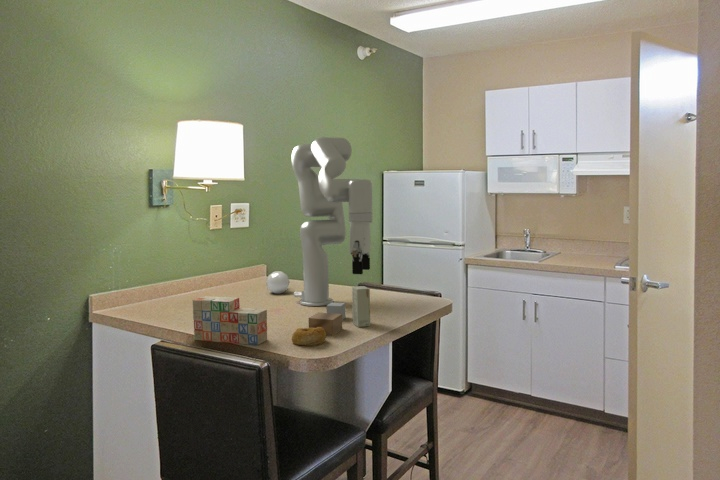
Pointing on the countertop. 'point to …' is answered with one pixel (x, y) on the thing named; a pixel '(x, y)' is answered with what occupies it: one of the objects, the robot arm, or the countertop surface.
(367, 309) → the skincare box
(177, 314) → the countertop surface
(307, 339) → the bagel
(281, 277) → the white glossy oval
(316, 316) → the walnut block
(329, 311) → the grey block
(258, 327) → the stack of blocks
